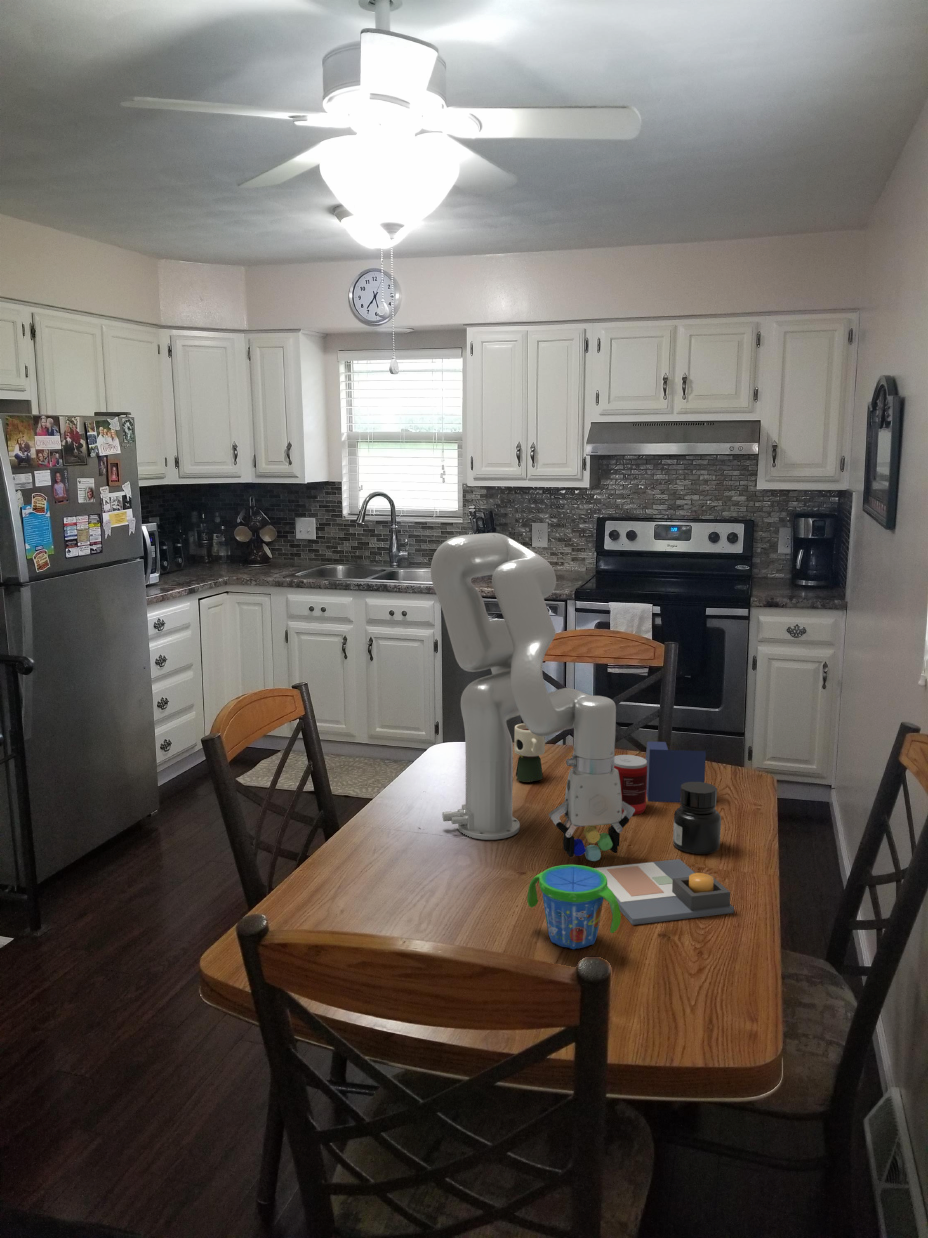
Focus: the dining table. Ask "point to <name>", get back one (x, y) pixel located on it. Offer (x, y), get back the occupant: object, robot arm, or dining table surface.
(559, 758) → the dining table surface
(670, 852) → the dining table surface
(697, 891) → the button
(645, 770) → the canned food
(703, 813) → the ink bottle
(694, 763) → the phone stand
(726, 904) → the colouring board
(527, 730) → the character mug
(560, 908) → the snack cup
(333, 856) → the dining table surface
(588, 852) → the dice
